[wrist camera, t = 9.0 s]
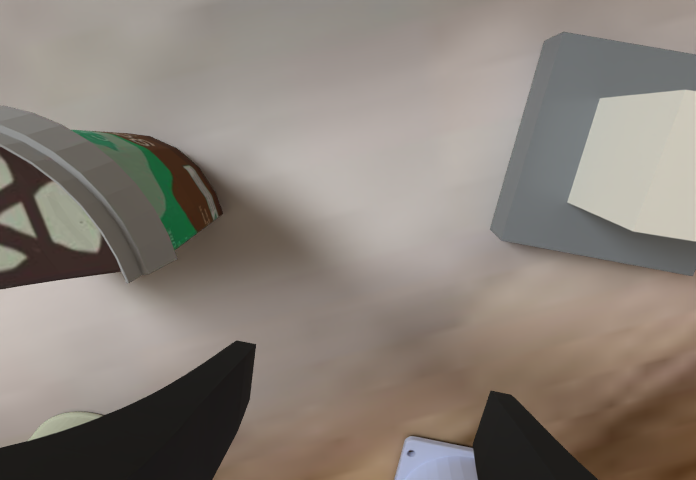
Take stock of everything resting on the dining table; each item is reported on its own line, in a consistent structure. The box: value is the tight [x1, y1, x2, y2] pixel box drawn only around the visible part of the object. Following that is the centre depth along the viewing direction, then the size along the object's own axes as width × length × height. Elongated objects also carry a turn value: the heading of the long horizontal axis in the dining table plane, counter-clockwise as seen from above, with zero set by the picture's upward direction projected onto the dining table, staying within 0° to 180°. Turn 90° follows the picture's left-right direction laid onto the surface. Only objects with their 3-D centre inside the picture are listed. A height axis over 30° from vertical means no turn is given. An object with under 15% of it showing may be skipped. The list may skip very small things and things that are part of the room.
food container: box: [0, 105, 223, 289], centre depth 17 cm, size 12×6×10 cm, turn 99°
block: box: [567, 90, 696, 241], centre depth 15 cm, size 4×4×5 cm
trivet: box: [490, 32, 696, 276], centre depth 18 cm, size 9×9×2 cm
